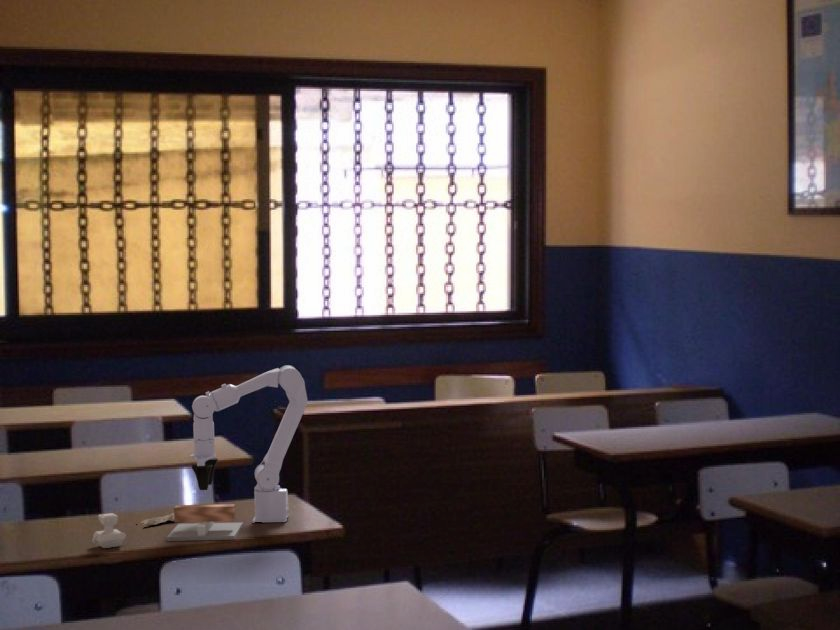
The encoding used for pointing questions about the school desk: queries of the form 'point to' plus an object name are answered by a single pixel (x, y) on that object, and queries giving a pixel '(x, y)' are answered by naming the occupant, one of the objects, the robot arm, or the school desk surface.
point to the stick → (204, 513)
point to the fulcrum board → (211, 535)
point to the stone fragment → (158, 520)
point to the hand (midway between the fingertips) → (205, 487)
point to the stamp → (108, 532)
